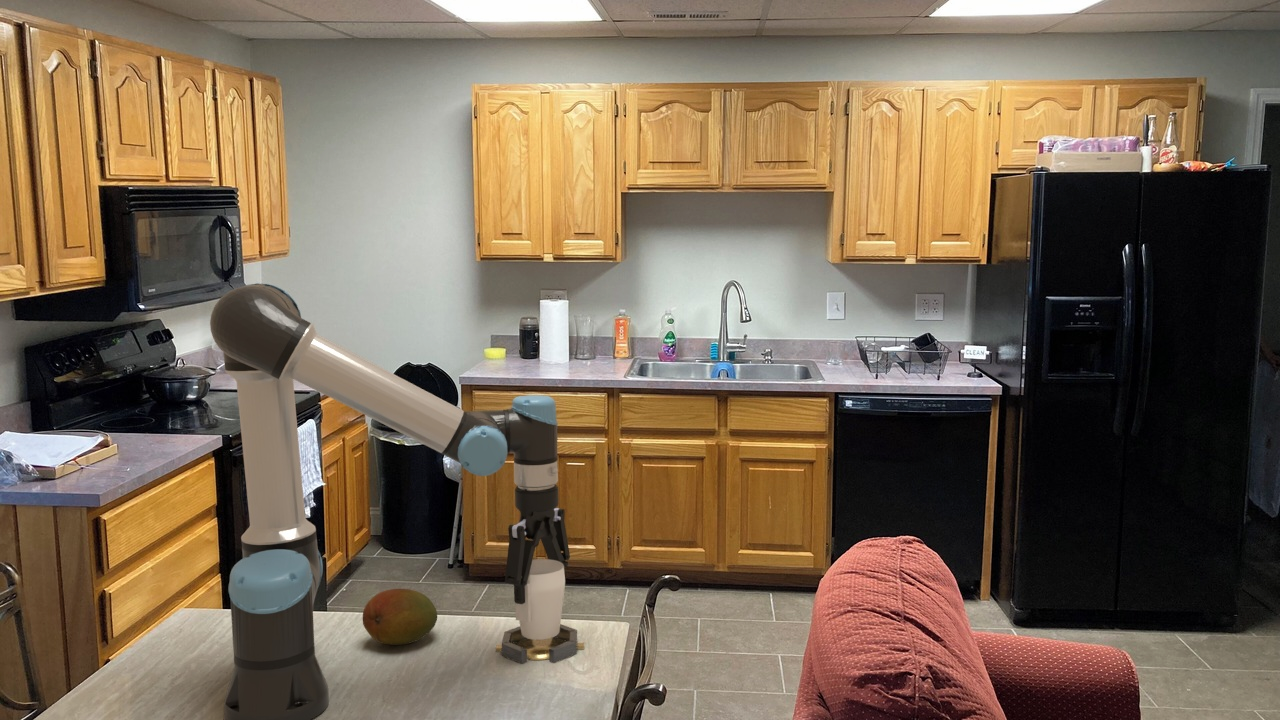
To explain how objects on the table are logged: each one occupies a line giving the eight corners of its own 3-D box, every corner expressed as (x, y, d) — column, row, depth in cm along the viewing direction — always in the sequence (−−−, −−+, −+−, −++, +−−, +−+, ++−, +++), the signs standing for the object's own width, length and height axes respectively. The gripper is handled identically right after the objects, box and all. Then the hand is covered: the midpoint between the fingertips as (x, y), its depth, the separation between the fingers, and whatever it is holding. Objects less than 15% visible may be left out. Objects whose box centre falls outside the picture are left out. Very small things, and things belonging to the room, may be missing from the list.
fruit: (353, 647, 179) (350, 593, 178) (402, 624, 190) (400, 572, 189) (402, 660, 173) (400, 604, 172) (450, 635, 184) (448, 582, 183)
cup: (538, 647, 171) (536, 578, 170) (504, 634, 177) (502, 567, 176) (576, 632, 177) (575, 565, 176) (542, 619, 184) (540, 555, 182)
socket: (492, 664, 171) (492, 652, 171) (499, 635, 184) (499, 624, 183) (583, 662, 171) (583, 649, 171) (584, 633, 184) (584, 622, 184)
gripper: (517, 501, 163) (520, 636, 166) (588, 474, 182) (590, 595, 184) (479, 496, 167) (484, 628, 169) (553, 470, 185) (556, 589, 188)
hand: (539, 611), depth 177 cm, fingers closed on cup, 9 cm apart
